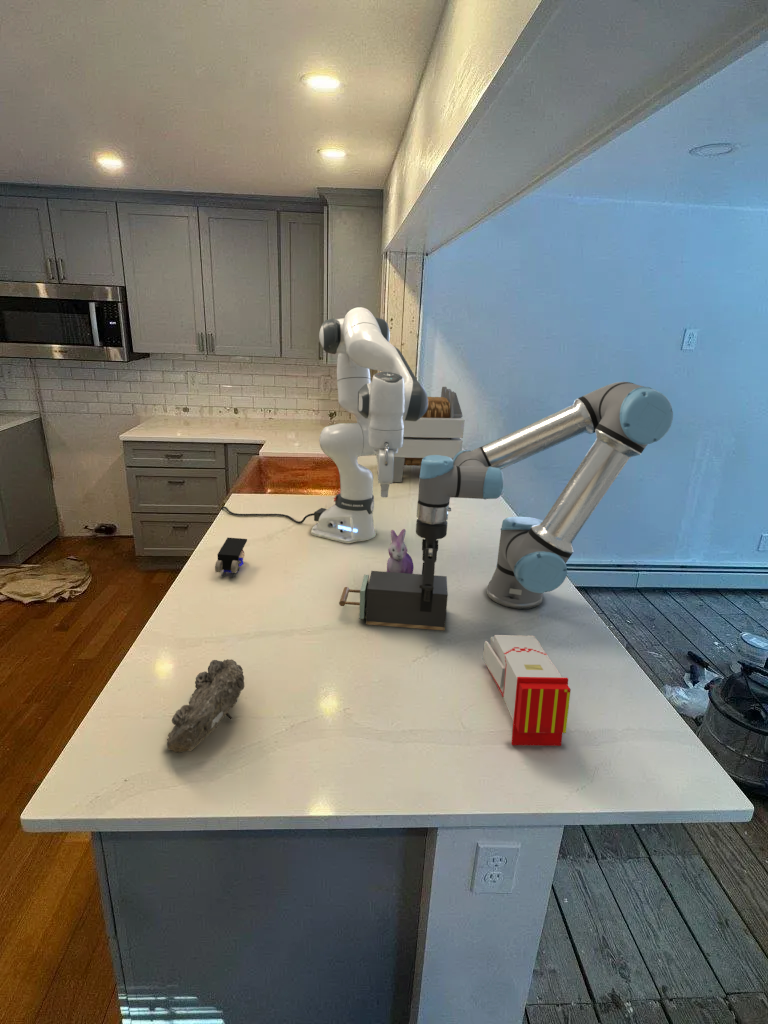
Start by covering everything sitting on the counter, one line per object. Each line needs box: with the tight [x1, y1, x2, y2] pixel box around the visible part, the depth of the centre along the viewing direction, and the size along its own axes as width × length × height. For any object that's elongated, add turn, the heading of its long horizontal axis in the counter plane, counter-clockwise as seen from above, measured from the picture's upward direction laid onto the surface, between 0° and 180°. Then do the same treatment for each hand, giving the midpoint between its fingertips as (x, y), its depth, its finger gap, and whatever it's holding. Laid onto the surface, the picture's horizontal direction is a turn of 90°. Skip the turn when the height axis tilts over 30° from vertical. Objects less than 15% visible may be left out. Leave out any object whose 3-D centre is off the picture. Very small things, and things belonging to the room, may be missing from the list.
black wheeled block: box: [214, 537, 248, 578], centre depth 166 cm, size 7×8×15 cm
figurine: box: [386, 528, 415, 574], centre depth 164 cm, size 9×10×15 cm
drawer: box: [338, 574, 370, 620], centre depth 145 cm, size 24×9×8 cm, turn 86°
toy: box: [482, 634, 572, 747], centre depth 115 cm, size 12×13×30 cm
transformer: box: [393, 386, 465, 483], centre depth 268 cm, size 34×33×41 cm
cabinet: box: [365, 570, 449, 631], centre depth 145 cm, size 20×10×10 cm, turn 86°
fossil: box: [166, 658, 245, 754], centre depth 106 cm, size 22×10×15 cm
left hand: (383, 491), depth 148 cm, fingers open, 8 cm apart
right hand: (425, 597), depth 144 cm, fingers open, 13 cm apart
